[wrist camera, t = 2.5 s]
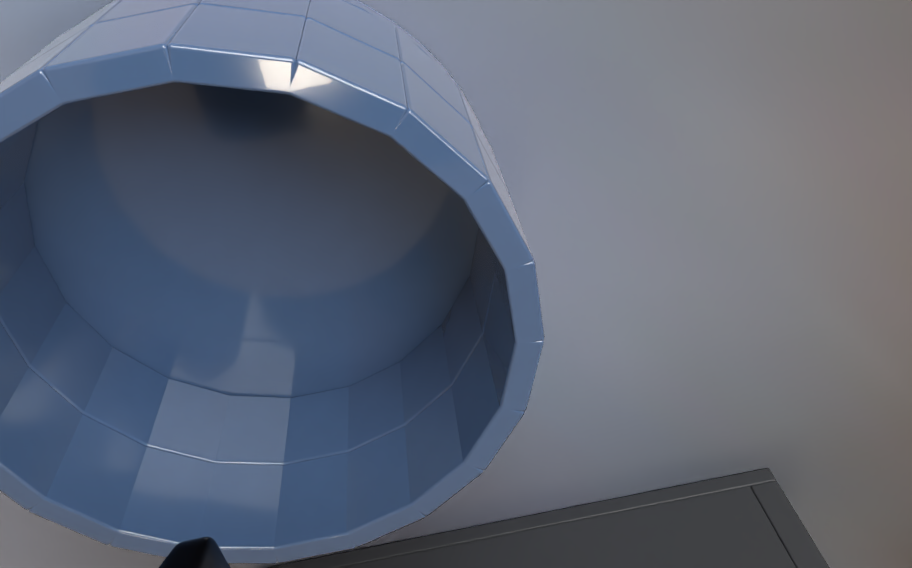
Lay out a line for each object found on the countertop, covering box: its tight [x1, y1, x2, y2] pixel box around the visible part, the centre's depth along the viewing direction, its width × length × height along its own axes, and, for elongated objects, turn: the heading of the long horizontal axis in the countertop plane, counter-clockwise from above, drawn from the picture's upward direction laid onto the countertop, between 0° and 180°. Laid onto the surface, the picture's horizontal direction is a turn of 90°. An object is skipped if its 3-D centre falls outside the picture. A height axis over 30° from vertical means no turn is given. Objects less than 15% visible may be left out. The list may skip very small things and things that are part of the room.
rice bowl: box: [0, 0, 544, 564], centre depth 14 cm, size 10×10×5 cm
